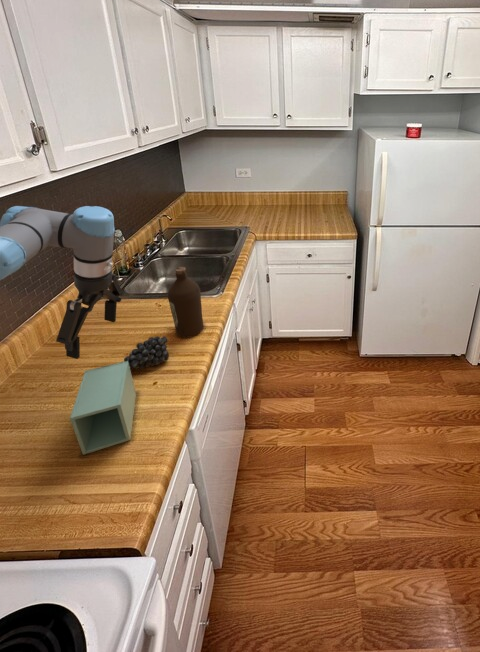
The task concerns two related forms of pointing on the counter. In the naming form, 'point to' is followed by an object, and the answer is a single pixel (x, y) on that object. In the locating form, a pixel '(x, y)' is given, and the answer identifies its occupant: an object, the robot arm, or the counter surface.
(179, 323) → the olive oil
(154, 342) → the fruit
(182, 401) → the counter surface
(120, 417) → the open box
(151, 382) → the counter surface
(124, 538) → the counter surface
